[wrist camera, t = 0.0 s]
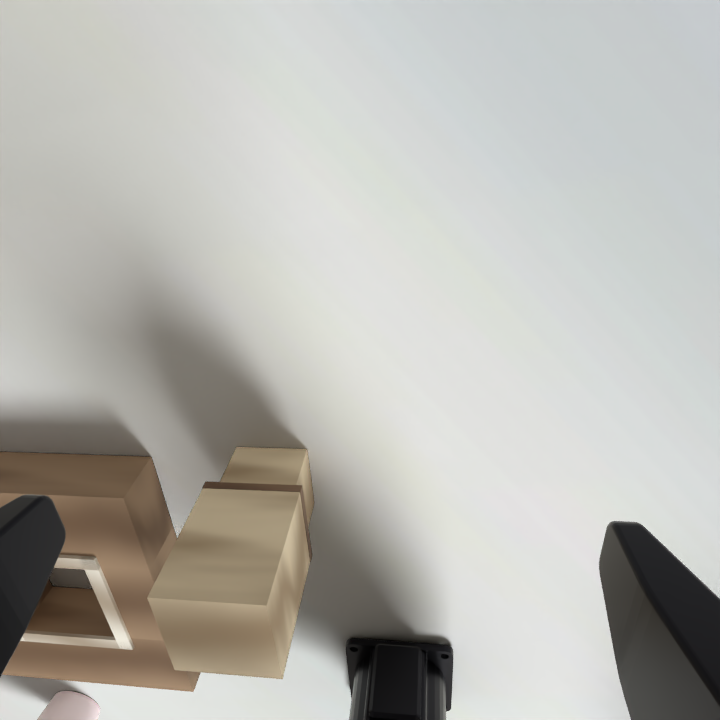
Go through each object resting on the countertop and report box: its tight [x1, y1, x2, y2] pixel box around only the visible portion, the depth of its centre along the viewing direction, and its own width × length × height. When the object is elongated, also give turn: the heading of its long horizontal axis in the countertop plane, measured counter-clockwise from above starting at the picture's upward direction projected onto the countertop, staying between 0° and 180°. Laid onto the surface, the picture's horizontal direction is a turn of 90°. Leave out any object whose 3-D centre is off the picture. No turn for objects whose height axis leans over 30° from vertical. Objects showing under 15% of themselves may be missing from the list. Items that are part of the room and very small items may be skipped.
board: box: [0, 452, 200, 692], centre depth 32 cm, size 16×13×3 cm
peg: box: [147, 447, 314, 679], centre depth 25 cm, size 4×4×9 cm
